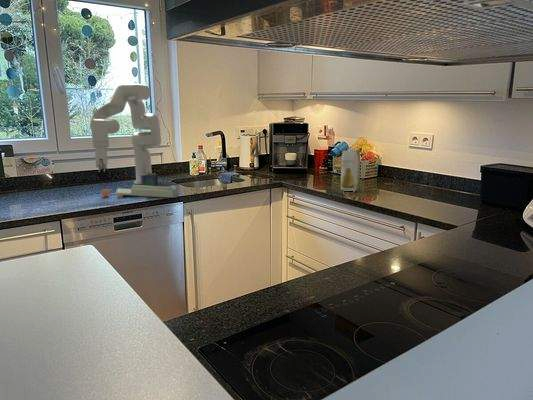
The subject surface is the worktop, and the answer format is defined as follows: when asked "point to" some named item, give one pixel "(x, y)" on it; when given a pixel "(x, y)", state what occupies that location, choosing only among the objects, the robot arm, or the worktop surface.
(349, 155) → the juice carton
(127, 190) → the lane
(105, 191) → the ball
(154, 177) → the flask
